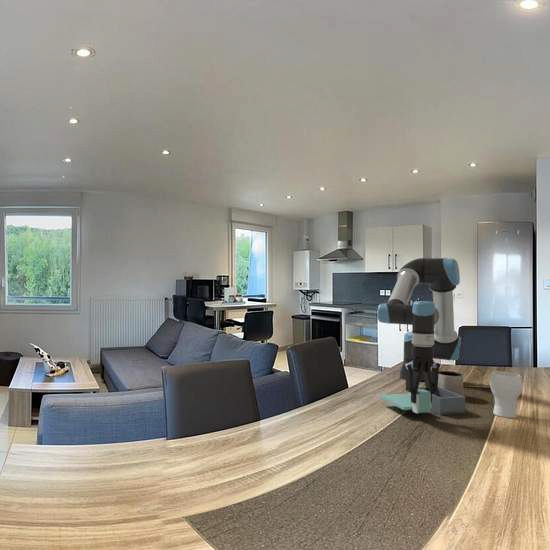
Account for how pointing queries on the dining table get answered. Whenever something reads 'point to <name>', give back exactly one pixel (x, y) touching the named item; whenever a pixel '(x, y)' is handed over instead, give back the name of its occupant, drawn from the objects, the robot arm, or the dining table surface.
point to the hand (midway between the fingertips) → (421, 411)
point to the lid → (409, 400)
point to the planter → (451, 381)
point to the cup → (505, 392)
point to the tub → (446, 402)
